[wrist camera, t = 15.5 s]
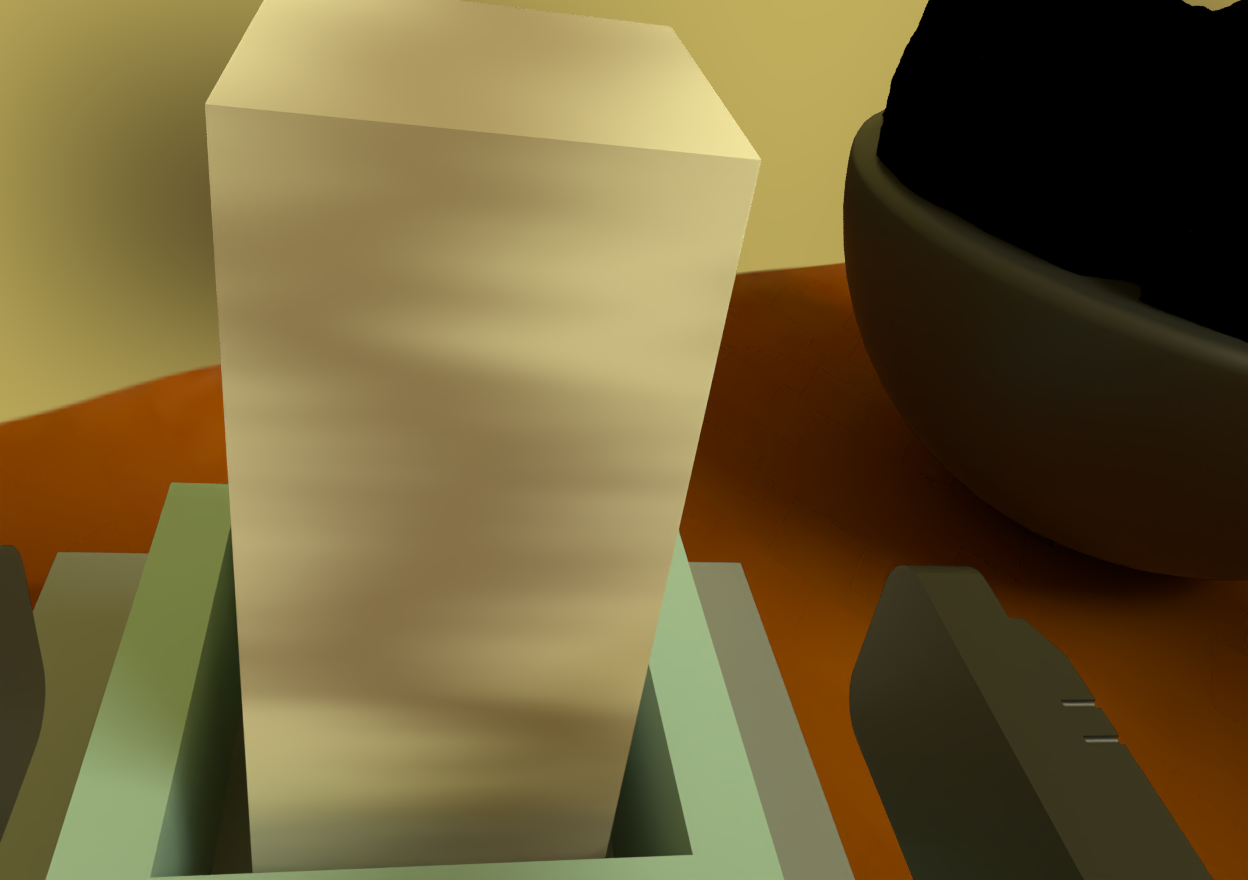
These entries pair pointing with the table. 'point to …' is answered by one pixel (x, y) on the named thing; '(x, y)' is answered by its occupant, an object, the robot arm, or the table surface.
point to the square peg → (458, 411)
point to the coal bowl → (1068, 268)
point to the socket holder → (222, 867)
